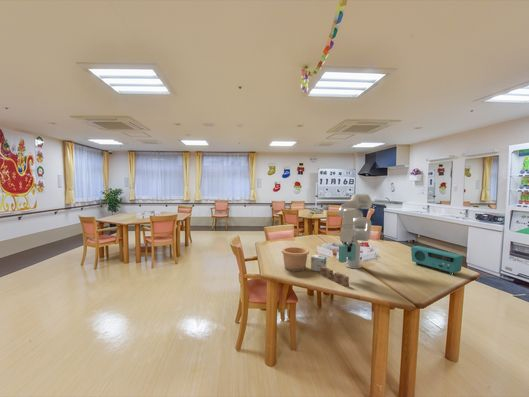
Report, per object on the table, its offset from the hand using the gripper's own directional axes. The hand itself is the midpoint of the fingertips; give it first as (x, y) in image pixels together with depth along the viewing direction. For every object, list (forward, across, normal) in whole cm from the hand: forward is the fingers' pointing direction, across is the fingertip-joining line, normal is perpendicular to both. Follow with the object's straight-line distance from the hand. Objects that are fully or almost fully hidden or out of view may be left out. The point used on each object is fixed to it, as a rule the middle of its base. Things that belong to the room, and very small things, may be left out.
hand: (347, 250), depth 174 cm
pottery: (+19, -33, -23) cm, 44 cm away
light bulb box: (+19, -20, -9) cm, 29 cm away
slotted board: (+19, 0, -14) cm, 23 cm away
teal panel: (+7, 0, 0) cm, 7 cm away
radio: (+20, +22, +75) cm, 81 cm away
